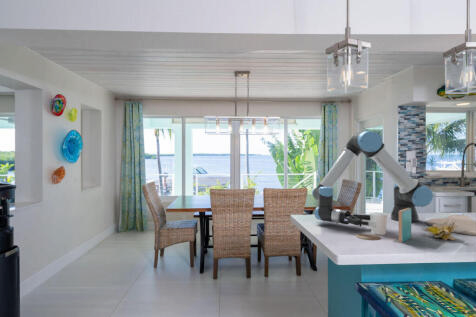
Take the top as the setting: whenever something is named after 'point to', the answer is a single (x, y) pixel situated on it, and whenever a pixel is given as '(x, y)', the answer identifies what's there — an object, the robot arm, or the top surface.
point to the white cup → (379, 223)
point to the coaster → (368, 237)
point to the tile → (404, 224)
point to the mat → (422, 242)
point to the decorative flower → (442, 230)
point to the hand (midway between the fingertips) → (381, 222)
